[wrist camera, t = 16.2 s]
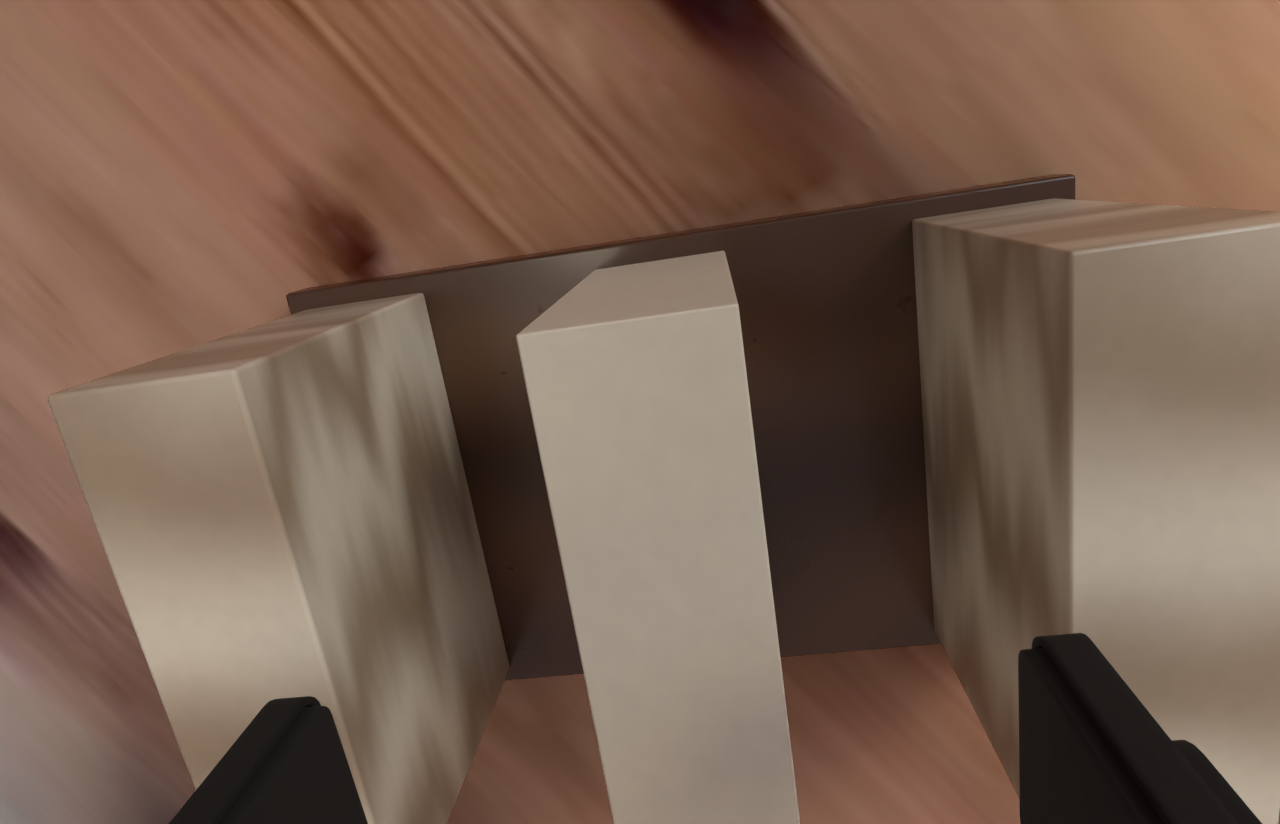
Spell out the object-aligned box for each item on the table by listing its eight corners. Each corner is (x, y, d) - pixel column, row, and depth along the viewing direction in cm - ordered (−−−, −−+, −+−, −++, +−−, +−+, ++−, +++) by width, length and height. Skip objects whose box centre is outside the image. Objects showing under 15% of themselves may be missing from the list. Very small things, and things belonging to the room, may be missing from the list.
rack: (304, 288, 23) (5, 370, 13) (1055, 173, 20) (1381, 170, 10) (408, 668, 26) (234, 956, 17) (1057, 611, 24) (1301, 912, 14)
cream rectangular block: (593, 269, 21) (514, 335, 12) (724, 250, 20) (738, 304, 12) (659, 656, 24) (633, 924, 15) (773, 647, 24) (810, 916, 15)
